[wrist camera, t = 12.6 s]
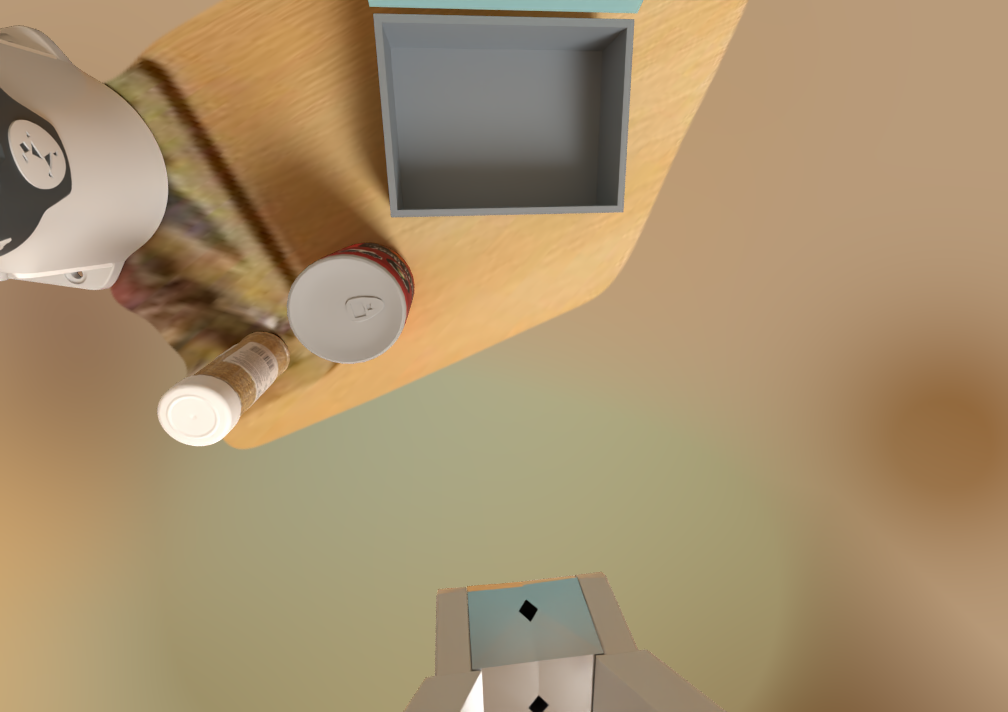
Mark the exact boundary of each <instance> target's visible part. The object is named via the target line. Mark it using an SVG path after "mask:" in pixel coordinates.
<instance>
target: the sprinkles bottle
mask: <svg viewBox="0 0 1008 712" xmlns="http://www.w3.org/2000/svg"><path fill="white" fill-rule="evenodd" d="M289 361H290V354H289V350H288V348H287V346H286V344H285V343H284V342H283V341H282V340H281V339H280V338H279V337H277V336H276V335H274V334H271V333H267V332H254V333H251V334H249V335H247V336H246V337H245V338H244V339H242V340H241V341H240V342H239V343H238V344H236V345H234V346H232V347H231V348H229V349H228V350H226V351H225V352H224V353H222V354H221V355H219V356H218V357H217V358H216V359H215V360H214V361H212V362H211V363H210V364H208V365H207V366H205V367H204V368H203V369H201V370H200V371H199V372H197V373H196V374H194V375H193V376H190V377H187V378H184V379H183V380H181V381H179V382H178V383H176V384H175V385H174V386H173V387H171V388H170V389H169V390H168V391H166V392H165V393H164V394H163V396H162V397H161V399H160V401H159V404H158V409H157V413H158V419H159V422H160V424H161V426H162V427H163V429H164V430H165V431H166V432H167V433H168V434H169V435H170V436H171V437H172V438H174V439H175V440H177V441H179V442H181V443H184V444H187V445H193V446H205V445H210V444H213V443H216V442H218V441H219V440H221V439H222V438H223V437H224V436H226V435H227V434H228V433H229V432H230V431H231V430H232V428H233V427H234V426H235V425H236V424H237V422H238V420H239V418H240V416H241V415H242V414H243V413H244V412H245V411H246V410H247V409H248V408H249V407H251V406H252V404H253V403H254V402H255V401H256V400H257V399H258V398H259V397H260V396H261V395H262V394H263V393H264V392H265V391H266V390H267V388H268V387H269V386H270V385H271V384H272V383H273V382H274V381H275V379H276V378H277V377H278V376H279V375H281V374H282V373H283V372H284V371H285V370H286V369H287V367H288V365H289Z"/></svg>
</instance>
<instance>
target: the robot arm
mask: <svg viewBox="0 0 1008 712" xmlns="http://www.w3.org/2000/svg"><path fill="white" fill-rule="evenodd" d="M167 198H168V179H167V172H166V167H165V163H164V160H163V157H162V154H161V151H160V149H159V146H158V144H157V142H156V140H155V138H154V136H153V134H152V133H151V131H150V130H149V128H148V126H147V125H146V124H145V122H144V121H143V119H142V118H141V117H140V116H139V114H138V113H137V112H136V111H135V110H134V109H133V108H132V107H131V106H130V105H129V104H128V103H127V102H126V101H125V100H124V99H123V98H122V97H121V96H119V95H118V94H117V93H116V92H114V91H113V90H112V89H110V88H109V87H107V86H106V85H104V84H103V83H101V82H100V81H98V80H96V79H94V78H93V77H91V76H89V75H88V74H86V73H84V72H83V71H81V70H80V69H79V68H77V67H76V66H75V65H73V64H72V62H71V61H70V60H69V59H68V58H67V56H65V54H64V53H63V52H62V51H61V50H60V49H59V47H58V46H57V45H56V44H55V43H54V42H53V41H52V40H51V39H50V38H48V36H46V35H45V34H44V33H42V32H40V31H39V30H36V29H33V28H29V27H25V26H20V25H18V26H11V27H6V28H1V29H0V281H4V280H8V278H10V279H17V280H25V281H32V282H39V283H47V284H54V285H61V286H68V287H75V288H83V289H90V290H99V289H107V288H109V287H111V286H112V285H113V284H114V283H115V282H116V280H117V278H118V276H119V274H120V272H121V270H122V267H123V265H124V262H125V260H126V259H127V258H128V257H129V256H130V255H131V254H132V253H134V252H135V251H136V250H138V249H139V248H140V247H141V246H143V245H144V244H145V243H146V242H147V241H148V240H149V239H150V238H151V237H152V235H153V234H154V233H155V232H156V230H157V228H158V227H159V225H160V223H161V221H162V218H163V216H164V213H165V209H166V205H167ZM79 271H82V273H83V277H81V276H80V275H79V274H78V272H79ZM467 599H468V604H467ZM468 618H469V620H468ZM403 712H726V711H725V710H724V709H722V708H721V707H720V706H718V705H717V704H716V703H715V702H713V701H712V700H711V699H710V698H708V697H707V696H706V695H704V694H703V693H702V692H701V691H699V690H698V689H697V688H695V687H694V686H693V685H691V684H690V683H689V682H688V681H687V680H685V679H684V678H683V677H681V676H680V675H679V674H678V673H676V672H675V671H674V670H673V669H671V668H670V667H669V666H668V665H666V664H665V663H664V662H662V661H661V660H660V659H659V658H657V657H656V656H655V655H653V654H652V653H651V652H650V651H648V650H638V648H637V646H636V643H635V641H634V639H633V637H632V635H631V632H630V630H629V628H628V625H627V623H626V621H625V618H624V616H623V614H622V612H621V609H620V608H619V605H618V602H617V600H616V598H615V596H614V593H613V591H612V589H611V587H610V584H609V582H608V580H607V578H606V575H604V574H603V573H602V572H596V573H588V574H580V575H575V576H565V577H556V578H548V579H539V580H531V581H522V582H514V583H502V584H488V585H477V586H467V590H466V587H461V588H447V589H438V592H437V602H436V651H435V676H431V677H426V678H425V679H424V681H423V682H422V684H421V685H420V687H419V688H418V690H417V691H416V693H415V694H414V696H413V697H412V699H411V701H410V702H409V704H408V705H407V707H406V708H405V710H404V711H403Z"/></svg>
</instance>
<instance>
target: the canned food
mask: <svg viewBox="0 0 1008 712" xmlns="http://www.w3.org/2000/svg"><path fill="white" fill-rule="evenodd" d="M413 296H414V279H413V275H412V273H411V270H410V268H409V266H408V265H407V263H406V262H405V260H404V259H403V258H402V257H401V256H400V255H399V254H397V253H396V252H394V251H393V250H391V249H389V248H387V247H385V246H383V245H378V244H374V243H360V244H354V245H351V246H349V247H346V248H344V249H341V250H339V251H337V252H334V253H332V254H330V255H327V256H325V257H323V258H321V259H319V260H317V261H316V262H314V263H312V264H311V265H309V266H308V267H307V268H306V269H305V270H304V271H303V272H301V273H300V275H299V276H298V277H297V279H296V280H295V282H294V283H293V285H292V287H291V290H290V292H289V295H288V301H287V316H288V319H289V323H290V326H291V328H292V330H293V332H294V334H295V336H296V337H297V338H298V340H299V341H300V342H301V343H302V344H303V345H304V346H305V347H306V348H307V349H308V350H309V351H311V352H312V353H314V354H316V355H317V356H319V357H321V358H324V359H326V360H329V361H332V362H337V363H347V364H354V363H360V362H365V361H368V360H371V359H374V358H376V357H378V356H379V355H381V354H383V353H384V352H385V351H387V350H388V349H389V348H390V347H391V346H392V345H393V344H394V343H395V341H396V340H397V339H398V337H399V336H400V334H401V332H402V330H403V328H404V325H405V323H406V320H407V317H408V313H409V310H410V307H411V303H412V300H413Z"/></svg>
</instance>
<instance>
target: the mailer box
mask: <svg viewBox="0 0 1008 712" xmlns="http://www.w3.org/2000/svg"><path fill="white" fill-rule="evenodd" d="M373 17H374V29H375V40H376V51H377V63H378V74H379V85H380V97H381V108H382V119H383V131H384V142H385V153H386V165H387V176H388V187H389V199H390V210H391V217H428V216H473V215H518V214H563V213H609V212H623V209H624V191H625V174H626V156H627V139H628V122H629V104H630V87H631V70H632V52H633V35H634V19H593V18H549V17H506V16H462V15H418V14H374V13H373Z"/></svg>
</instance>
